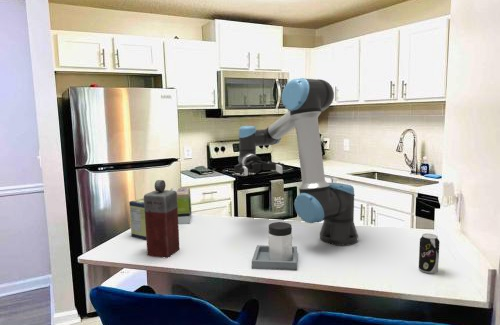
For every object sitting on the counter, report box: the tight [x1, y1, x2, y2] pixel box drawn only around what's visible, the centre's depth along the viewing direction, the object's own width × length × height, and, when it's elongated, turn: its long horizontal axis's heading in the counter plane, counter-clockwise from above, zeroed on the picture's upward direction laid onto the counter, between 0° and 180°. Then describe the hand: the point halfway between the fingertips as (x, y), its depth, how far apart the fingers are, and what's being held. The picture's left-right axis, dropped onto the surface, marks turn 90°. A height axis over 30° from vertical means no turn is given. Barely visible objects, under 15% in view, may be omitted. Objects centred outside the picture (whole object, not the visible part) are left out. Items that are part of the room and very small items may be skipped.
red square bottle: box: [143, 179, 180, 259], centre depth 141 cm, size 9×11×28 cm
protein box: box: [128, 197, 146, 241], centre depth 164 cm, size 10×16×16 cm
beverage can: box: [418, 232, 441, 275], centre depth 121 cm, size 6×6×12 cm
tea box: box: [170, 187, 193, 225], centre depth 184 cm, size 15×10×15 cm
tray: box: [251, 244, 298, 271], centre depth 133 cm, size 15×15×3 cm
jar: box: [267, 221, 293, 261], centre depth 133 cm, size 9×8×12 cm
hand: (264, 171), depth 142 cm, fingers open, 13 cm apart
